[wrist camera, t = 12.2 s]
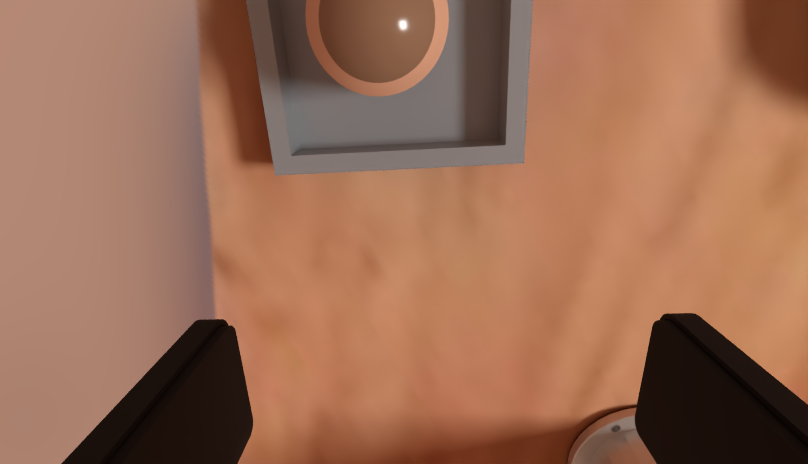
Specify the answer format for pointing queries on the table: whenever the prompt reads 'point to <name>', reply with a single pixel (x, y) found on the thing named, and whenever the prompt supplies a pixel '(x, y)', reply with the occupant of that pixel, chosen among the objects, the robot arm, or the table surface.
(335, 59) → the terracotta cup
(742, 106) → the table surface
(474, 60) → the grey tray
